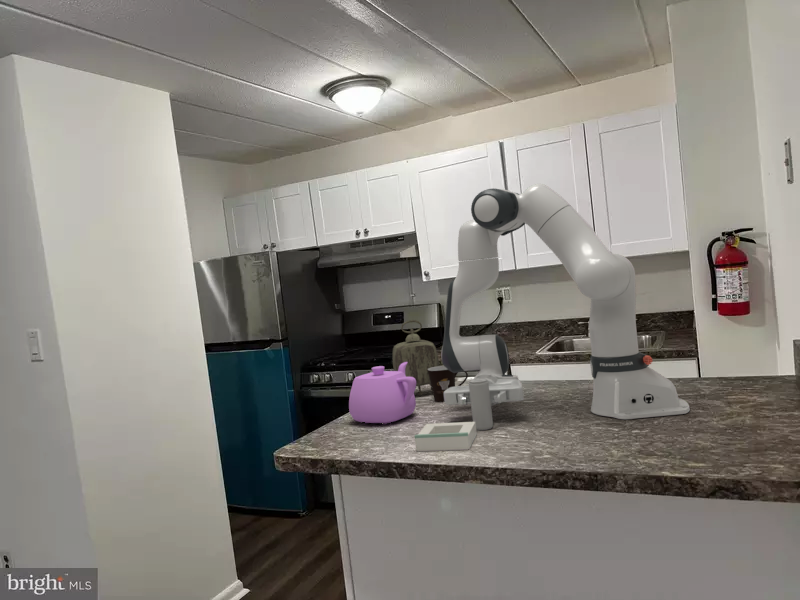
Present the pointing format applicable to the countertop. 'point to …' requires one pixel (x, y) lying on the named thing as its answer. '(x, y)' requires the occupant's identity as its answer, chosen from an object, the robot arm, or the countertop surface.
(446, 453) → the countertop surface
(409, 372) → the tabletop clock
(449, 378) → the coffee mug
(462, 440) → the socket block
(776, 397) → the countertop surface
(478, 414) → the beverage can
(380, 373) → the teapot
